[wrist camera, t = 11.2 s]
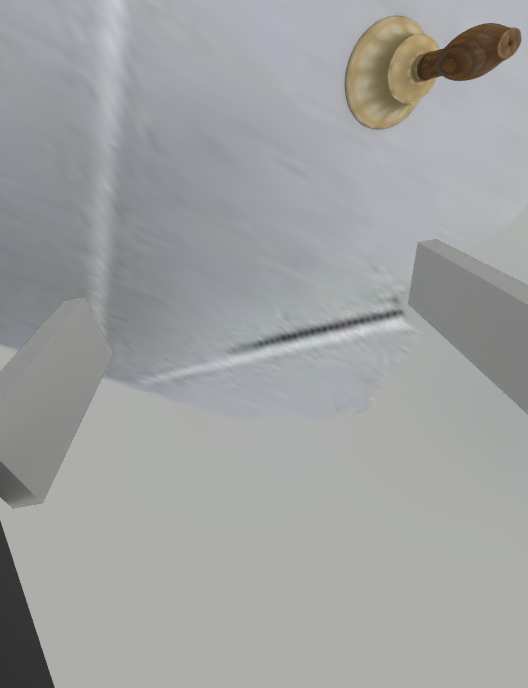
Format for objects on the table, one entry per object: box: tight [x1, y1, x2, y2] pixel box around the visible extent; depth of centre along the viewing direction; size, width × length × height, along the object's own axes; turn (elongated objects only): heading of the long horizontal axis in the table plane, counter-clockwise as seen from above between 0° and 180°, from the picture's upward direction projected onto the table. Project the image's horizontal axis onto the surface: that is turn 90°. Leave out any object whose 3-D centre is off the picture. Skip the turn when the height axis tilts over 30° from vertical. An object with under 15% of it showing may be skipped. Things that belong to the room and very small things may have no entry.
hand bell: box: [345, 16, 521, 129], centre depth 24 cm, size 8×8×16 cm
